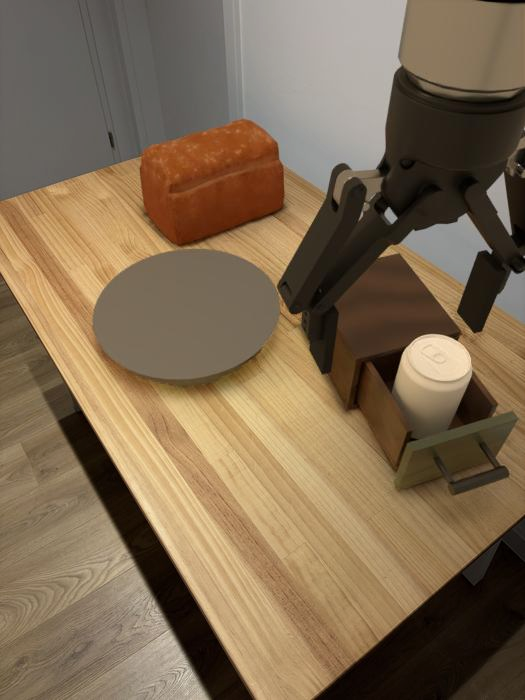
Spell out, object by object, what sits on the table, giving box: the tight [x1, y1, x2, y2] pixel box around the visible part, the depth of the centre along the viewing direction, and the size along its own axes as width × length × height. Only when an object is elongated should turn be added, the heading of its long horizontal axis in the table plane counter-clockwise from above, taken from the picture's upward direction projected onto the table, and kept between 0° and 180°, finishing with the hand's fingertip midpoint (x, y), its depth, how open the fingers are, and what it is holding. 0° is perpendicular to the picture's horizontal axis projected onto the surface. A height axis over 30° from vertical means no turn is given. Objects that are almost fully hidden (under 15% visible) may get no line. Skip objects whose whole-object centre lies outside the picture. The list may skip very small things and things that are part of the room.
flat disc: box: [92, 248, 281, 389], centre depth 85 cm, size 28×28×4 cm
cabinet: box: [326, 252, 462, 411], centre depth 78 cm, size 17×15×11 cm
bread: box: [138, 118, 286, 245], centre depth 102 cm, size 17×24×15 cm
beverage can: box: [391, 334, 473, 439], centre depth 68 cm, size 8×8×12 cm
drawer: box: [355, 351, 519, 497], centre depth 68 cm, size 20×14×9 cm
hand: (396, 341), depth 45 cm, fingers open, 13 cm apart
